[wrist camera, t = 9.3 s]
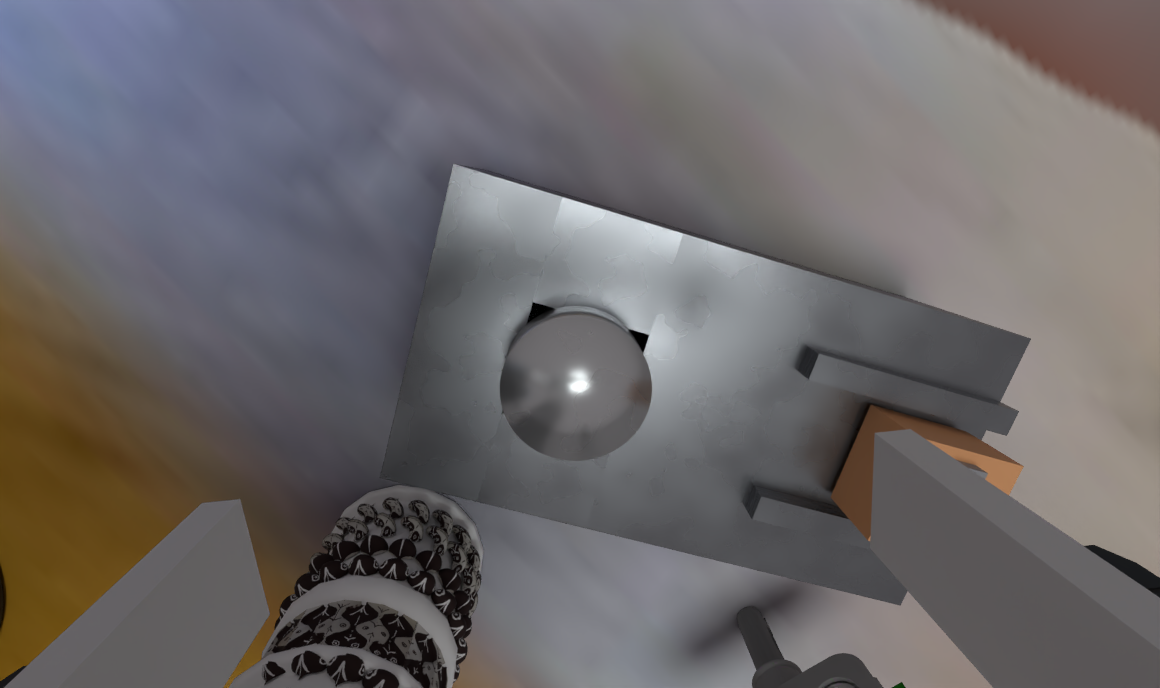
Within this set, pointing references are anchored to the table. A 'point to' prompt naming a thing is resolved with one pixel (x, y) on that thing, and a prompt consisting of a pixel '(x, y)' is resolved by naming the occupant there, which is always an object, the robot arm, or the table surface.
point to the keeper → (957, 443)
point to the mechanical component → (780, 683)
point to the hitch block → (681, 381)
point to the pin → (575, 384)
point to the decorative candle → (380, 599)
